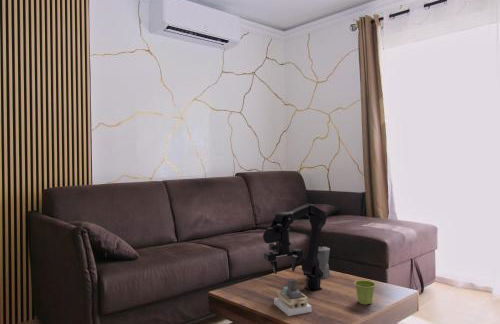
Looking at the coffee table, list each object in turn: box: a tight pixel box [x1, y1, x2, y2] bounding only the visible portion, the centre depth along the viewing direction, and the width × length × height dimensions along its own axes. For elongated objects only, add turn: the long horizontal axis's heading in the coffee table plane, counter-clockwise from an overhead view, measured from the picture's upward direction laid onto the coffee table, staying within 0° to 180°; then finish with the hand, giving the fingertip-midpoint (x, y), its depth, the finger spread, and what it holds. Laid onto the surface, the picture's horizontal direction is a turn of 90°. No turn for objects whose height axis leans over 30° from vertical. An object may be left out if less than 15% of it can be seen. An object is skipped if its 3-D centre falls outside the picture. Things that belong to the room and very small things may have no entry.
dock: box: [273, 297, 313, 317], centre depth 179 cm, size 11×15×2 cm
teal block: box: [283, 286, 288, 296], centre depth 182 cm, size 4×3×3 cm
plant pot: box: [354, 279, 377, 305], centre depth 184 cm, size 9×9×9 cm
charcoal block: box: [290, 289, 302, 300], centre depth 176 cm, size 4×3×3 cm
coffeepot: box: [317, 242, 331, 279], centre depth 224 cm, size 15×9×18 cm, turn 147°
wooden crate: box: [276, 277, 310, 309], centre depth 179 cm, size 9×13×10 cm
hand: (284, 272), depth 191 cm, fingers open, 9 cm apart
